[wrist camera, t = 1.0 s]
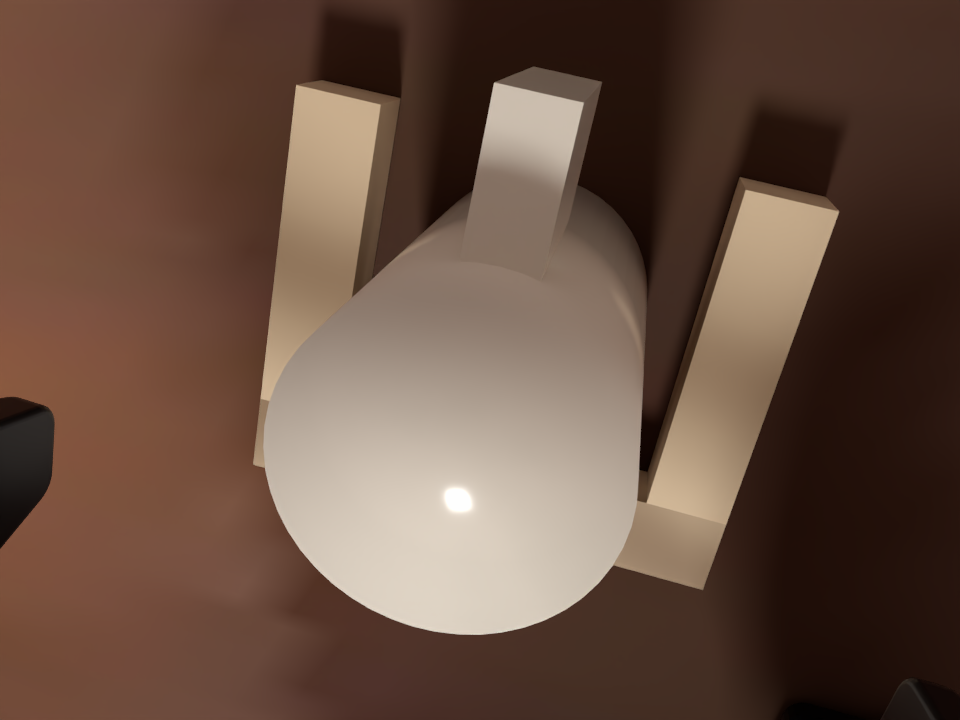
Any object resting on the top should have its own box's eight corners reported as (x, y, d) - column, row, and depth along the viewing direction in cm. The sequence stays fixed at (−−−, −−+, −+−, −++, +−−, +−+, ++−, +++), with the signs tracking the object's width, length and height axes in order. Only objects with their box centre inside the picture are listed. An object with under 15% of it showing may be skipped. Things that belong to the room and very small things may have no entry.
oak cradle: (700, 553, 22) (702, 589, 21) (277, 437, 23) (253, 464, 22) (825, 196, 19) (838, 211, 17) (322, 79, 20) (296, 84, 18)
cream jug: (614, 419, 21) (584, 676, 13) (403, 364, 22) (246, 578, 13) (708, 91, 18) (747, 155, 10) (462, 36, 19) (307, 53, 11)
